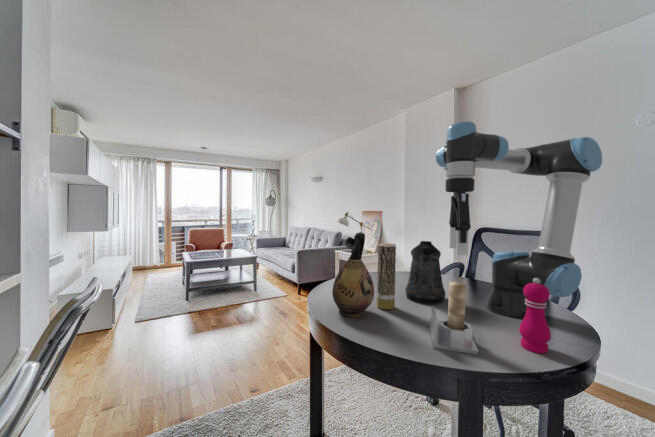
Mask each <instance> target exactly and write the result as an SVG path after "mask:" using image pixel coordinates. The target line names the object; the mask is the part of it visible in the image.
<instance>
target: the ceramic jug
mask: <svg viewBox="0 0 655 437" xmlns="http://www.w3.org/2000/svg"><path fill="white" fill-rule="evenodd" d="M365 241H366V235H365V233H364V232H362V231H360V232H356V233H355V235H354V238H352V237H351V236H350V237H349V236H348V237H347V238H346V240H345V241H344V245H345V246H346V247H347V248H348V249H350V250H351V254H350V256H349V257H348V259H347V260H346V261H345V263H344V264H343V266H342V267H341V268H340V270H339V271H338V273H337V275H336V277H335V279H334V281H333V284H332V285H333V286H332V290H331V291H332V292H331V295H332V299H333V301H334V303H335V306H336V307H337V308H338V313H339V314H340V315H342V316H343V317H352V318H357V317H362V316H364V314H365V312H366V311H367V309H368V308H369V307H370V306H371V304H372V303H373V300H374V296H375V287H374V282H373V278H372V276H371V275H370V272H369V270H368V268H367V267H366V265H365V263H364V261H363V260H362V258H363V252H364V247H365Z"/></svg>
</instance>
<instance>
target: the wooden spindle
mask: <svg viewBox="0 0 655 437" xmlns="http://www.w3.org/2000/svg"><path fill="white" fill-rule="evenodd" d="M448 288H449V289H448V308H447V319H448V321H447V327H449V328H451V329H457V330H464V322H465V318H466V317H465V316H466V301H467V300H466V299H467V297H466V296H467V285H466V284H465V283H462V282H455V281H452V282H451V281H450V282H449V286H448Z"/></svg>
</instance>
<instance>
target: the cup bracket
mask: <svg viewBox="0 0 655 437" xmlns="http://www.w3.org/2000/svg"><path fill="white" fill-rule="evenodd" d="M429 319H430V320H429V321H430V322H429V323H430V324H429V331H430V332H429V333H430V338H431V339H430V340H431V345H432V348H433V349H439V350H445V351H451V352H459V353H466V354H471V355H472V354H473V355H479V353H480V352H479V349H478V347H477V345H476V342H475V341H474V338H473V331H474V329H473V327H472V326H471V324H470V323H467V322H465V321H464V330H457V329H451V328H449V327H447V321H448V318H445V319H441V320H438V316H437V313H436V309H435V306H434V305H430V318H429Z"/></svg>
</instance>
